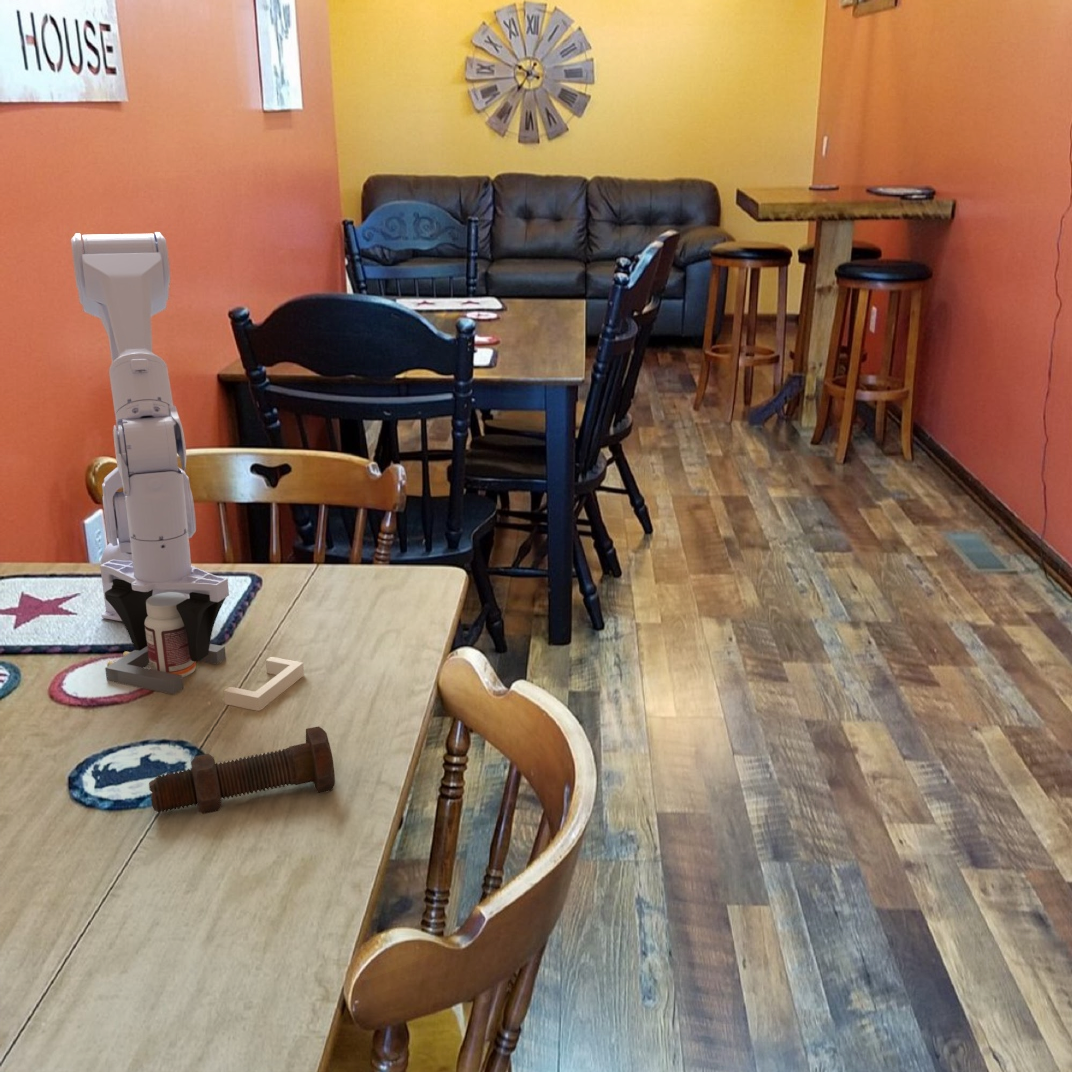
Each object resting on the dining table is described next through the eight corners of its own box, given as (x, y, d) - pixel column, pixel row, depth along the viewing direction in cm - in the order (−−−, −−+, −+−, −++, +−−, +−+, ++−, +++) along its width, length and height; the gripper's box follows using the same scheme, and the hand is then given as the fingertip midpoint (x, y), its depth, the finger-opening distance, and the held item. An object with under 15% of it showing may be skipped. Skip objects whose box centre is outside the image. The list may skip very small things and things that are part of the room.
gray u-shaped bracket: (97, 678, 118) (95, 665, 118) (152, 644, 126) (151, 632, 126) (174, 694, 115) (172, 681, 115) (225, 658, 123) (224, 646, 123)
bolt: (156, 829, 96) (330, 790, 101) (155, 832, 92) (338, 791, 97) (146, 761, 97) (319, 726, 102) (144, 761, 92) (327, 724, 97)
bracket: (225, 704, 113) (223, 690, 113) (271, 669, 121) (270, 656, 120) (259, 711, 112) (258, 697, 112) (303, 675, 120) (303, 662, 119)
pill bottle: (203, 662, 122) (196, 591, 119) (186, 682, 118) (178, 609, 115) (161, 660, 123) (153, 589, 120) (142, 679, 118) (134, 606, 115)
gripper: (74, 534, 114) (90, 656, 118) (194, 554, 109) (206, 679, 114) (121, 514, 120) (134, 630, 124) (236, 531, 115) (246, 651, 120)
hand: (171, 652), depth 119 cm, fingers open, 7 cm apart
